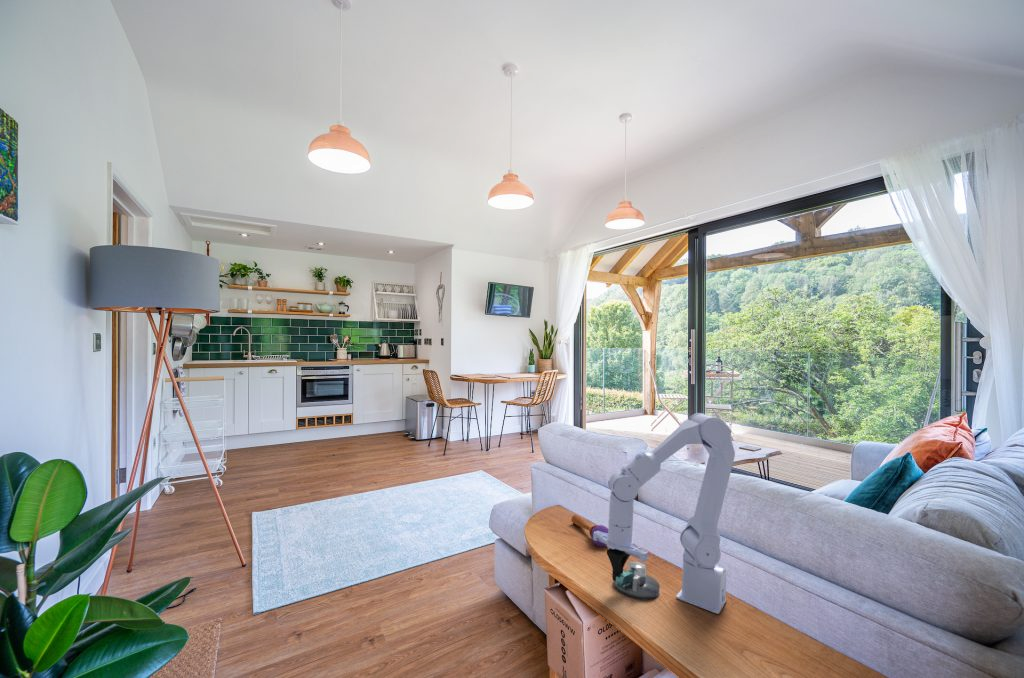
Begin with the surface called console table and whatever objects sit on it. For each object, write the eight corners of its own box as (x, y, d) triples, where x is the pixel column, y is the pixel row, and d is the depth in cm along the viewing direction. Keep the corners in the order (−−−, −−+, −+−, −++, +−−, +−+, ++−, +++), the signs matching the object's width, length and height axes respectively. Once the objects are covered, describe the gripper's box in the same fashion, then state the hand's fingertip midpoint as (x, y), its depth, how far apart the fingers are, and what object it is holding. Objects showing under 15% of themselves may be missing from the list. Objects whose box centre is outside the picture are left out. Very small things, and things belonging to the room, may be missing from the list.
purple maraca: (584, 512, 148) (616, 529, 130) (581, 529, 147) (613, 550, 128) (569, 509, 147) (599, 527, 128) (566, 527, 146) (595, 548, 127)
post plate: (665, 587, 107) (666, 569, 107) (649, 605, 98) (650, 585, 99) (624, 572, 114) (625, 555, 114) (605, 587, 105) (606, 569, 106)
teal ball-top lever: (634, 574, 109) (634, 559, 110) (649, 581, 106) (649, 566, 106) (609, 585, 103) (610, 570, 103) (624, 593, 100) (625, 578, 100)
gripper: (586, 516, 107) (583, 572, 106) (637, 537, 96) (634, 599, 95) (604, 511, 112) (601, 564, 111) (654, 530, 101) (651, 589, 100)
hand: (617, 580), depth 104 cm, fingers closed, pressing on teal ball-top lever
